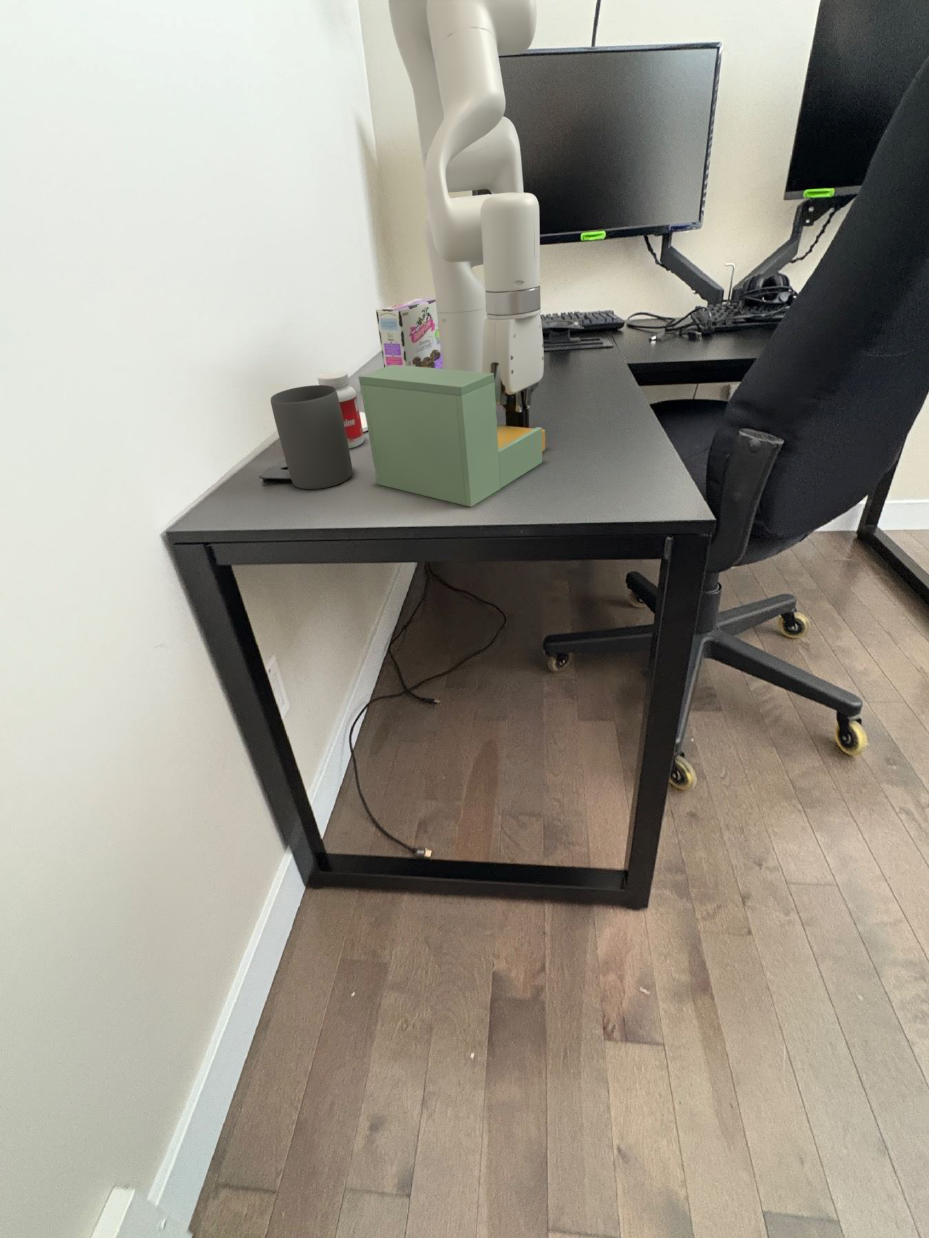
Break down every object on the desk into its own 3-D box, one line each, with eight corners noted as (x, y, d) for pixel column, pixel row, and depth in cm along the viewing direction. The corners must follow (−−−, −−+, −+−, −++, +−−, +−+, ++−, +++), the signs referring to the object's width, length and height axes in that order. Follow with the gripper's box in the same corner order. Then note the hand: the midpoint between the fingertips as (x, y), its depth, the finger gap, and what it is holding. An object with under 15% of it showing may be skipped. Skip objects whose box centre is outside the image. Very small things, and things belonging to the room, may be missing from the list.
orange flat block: (482, 442, 95) (480, 423, 93) (545, 449, 90) (545, 429, 88) (428, 476, 85) (426, 456, 83) (496, 487, 80) (495, 465, 78)
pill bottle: (325, 452, 98) (309, 381, 91) (330, 440, 103) (316, 372, 96) (362, 448, 97) (349, 377, 91) (366, 436, 103) (354, 368, 96)
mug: (366, 474, 88) (350, 389, 81) (313, 495, 83) (291, 406, 76) (315, 457, 96) (297, 378, 89) (265, 475, 91) (241, 393, 84)
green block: (452, 446, 94) (442, 347, 86) (542, 462, 85) (541, 353, 77) (377, 484, 84) (358, 376, 76) (471, 507, 75) (460, 387, 67)
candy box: (410, 401, 119) (398, 309, 109) (387, 399, 122) (373, 309, 112) (448, 383, 128) (440, 297, 119) (426, 382, 131) (416, 297, 122)
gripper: (519, 294, 89) (523, 419, 100) (458, 312, 80) (470, 447, 90) (563, 294, 85) (563, 424, 96) (505, 313, 76) (511, 454, 86)
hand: (517, 435), depth 93 cm, fingers closed
